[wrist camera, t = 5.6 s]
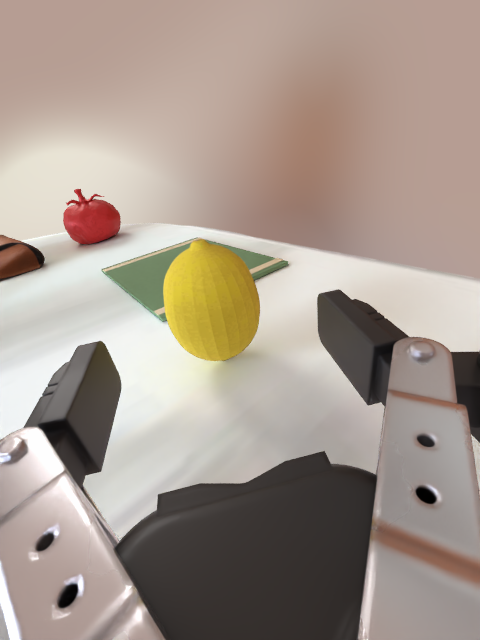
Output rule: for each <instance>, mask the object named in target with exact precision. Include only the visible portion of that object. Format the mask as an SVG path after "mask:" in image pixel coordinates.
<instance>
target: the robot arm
mask: <svg viewBox="0 0 480 640" xmlns="http://www.w3.org/2000/svg"><path fill="white" fill-rule="evenodd" d="M317 305H318V333H319V337H320V340H321V342H322V344H323V346H324V347H325V348H326V350H327V351H328V352H329V354H330V355H331V356H332V358H333V359H334V360H335V362H336V363H337V364H338V366H339V367H340V369H341V370H342V371H343V373H344V374H345V375H346V377H347V378H348V379H349V381H350V382H351V383H352V385H353V386H354V387H355V389H356V390H357V391H358V393H359V394H360V395H361V397H362V398H363V399H364V401H365V402H366V404H367V405H372V404H375V403H379V402H381V403H382V404H383V405H384V406H385V409H384V416H383V424H382V432H381V439H380V447H379V455H378V462H377V469H376V475H375V474H373V473H371V472H368V471H366V470H363V469H360V468H356V467H352V466H348V465H340V464H330V461H329V459H328V457H327V455H326V453H325V451H323V452H319V453H315V454H311V455H308V456H304V457H300V458H296V459H292V460H289V461H285V462H283V463H281V464H279V465H278V466H276V467H274V468H272V469H270V470H269V471H267V472H265V473H263V474H261V475H260V476H258V477H256V478H254V479H253V480H251V481H249V482H246V483H241V484H197V485H193V486H189V487H185V488H181V489H178V490H174V491H170V492H166V493H162V494H158V503H157V511H155V512H153V513H151V514H150V515H148V516H147V517H146V518H144V519H143V520H141V521H140V522H139V523H138V524H137V525H135V526H134V527H133V528H132V529H131V530H130V531H129V532H128V533H127V534H126V535H125V536H124V537H123V538H122V539H121V540H120V541H119V540H118V538H117V537H116V535H115V534H114V532H113V531H112V529H111V528H110V526H109V525H108V523H107V522H106V520H105V519H104V517H103V515H102V514H101V512H100V511H99V509H98V508H97V506H96V505H95V503H94V501H93V500H92V498H91V497H90V495H89V494H88V492H87V490H86V489H85V488H84V486H83V482H84V479H85V475H89V474H93V473H97V472H101V470H102V466H103V462H104V458H105V453H106V449H107V445H108V441H109V437H110V433H111V429H112V425H113V421H114V417H115V413H116V409H117V405H118V401H119V397H120V393H121V380H120V376H119V373H118V371H117V369H116V367H115V365H114V363H113V361H112V358H111V356H110V354H109V352H108V350H107V348H106V346H105V344H104V343H103V342H102V341H99V342H94V343H89V344H85V345H80V346H78V347H77V348H76V350H75V352H74V354H73V356H72V358H71V360H70V362H67V363H65V364H64V365H63V366H62V367H61V368H60V369H59V370H58V371H56V372H55V373H54V375H53V377H52V378H51V380H50V382H49V384H48V387H46V389H45V391H44V392H43V394H42V395H43V397H41V398H40V399H39V401H38V403H37V405H36V406H35V408H34V410H33V412H32V414H31V415H30V417H29V419H28V421H27V422H26V424H25V426H24V428H23V429H20V430H17V431H15V432H13V433H11V434H9V435H7V436H6V437H4V438H3V439H1V440H0V599H1V603H2V607H3V611H4V615H5V619H6V623H7V627H8V631H9V635H10V639H11V640H480V495H479V488H478V481H477V474H476V467H475V460H474V453H473V446H472V440H471V434H472V435H473V436H474V437H475V438H476V439H477V440H478V442H479V443H480V351H479V352H450V351H449V350H448V349H447V348H446V347H445V346H444V345H442V344H441V343H439V342H436V341H434V340H431V339H427V338H421V337H409V336H407V335H406V334H405V333H404V332H402V331H401V330H400V329H399V328H398V327H396V326H395V325H394V324H393V323H391V322H390V321H389V320H388V319H385V318H384V316H383V315H381V314H380V313H377V311H376V310H375V309H374V308H373V307H371V306H370V305H369V304H367V303H364V302H362V301H359V300H357V299H354V300H351V299H350V298H349V297H348V296H347V295H346V294H344V293H343V292H342V291H341V290H334V291H330V292H325V293H321V294H319V295H318V299H317Z"/></svg>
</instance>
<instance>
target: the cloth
mask: <svg viewBox="0 0 480 640" xmlns="http://www.w3.org/2000/svg"><path fill="white" fill-rule="evenodd" d="M198 239H202V238H194V239H191V240H188V241H185V242H182V243H179V244H176V245H173V246H170V247H167V248H164V249H161V250H158V251H155V252H152V253H149V254H146V255H143V256H140V257H137V258H134V259H131V260H128V261H125V262H122V263H119V264H116V265H113V266H110V267H107V268H104V269H102V272H103V273H104V274H106V275H107V276H108V277H109V278H110V279H112V280H113V281H114V282H115V283H116V284H118V285H119V286H120V287H121V288H123V289H124V290H125V291H126V292H127V293H129V294H130V295H131V296H132V297H133V298H135V299H136V300H137V301H138V302H139V303H141V304H142V305H143V306H144V307H145V308H147V309H148V310H149V311H150V312H152V313H153V314H154V315H155V316H156V317H158V318H159V319H160V320H161V321H162V322H164V321H166V320H167V318H166V314H165V308H164V296H163V286H164V279H165V276H166V273H167V271H168V269H169V267H170V265H171V264H172V262H173V261H174V260H175V258H176V257H177V256H178V255H179V254H181V253H182V252H183V251H185V250H186V249H188V248H189V247H190V245H191V243H192V242H193V241H195V240H198ZM205 241H207V242H208V243H209V244H215V245H219V246H222V247H225V248H227V249H229V250H231V251H232V252H234V253H235V254H236V255H238V256H239V257H240V258H241V259H242V260H243V261H244V262H245V264H246V266H247V267H248V269H249V271H250V273H251V275H252V278H253V280H256V279H258V278H260V277H262V276H264V275H267V274H269V273H271V272H273V271H275V270H278V269H280V268H282V267H284V266H286V265H288V261H284V260H283V259H279V258H273V257H269V256H265V255H262V254H258V253H254V252H250V251H246V250H242V249H239V248H235V247H231V246H227V245H223V244H220V243H216V242H212V241H208V240H205Z"/></svg>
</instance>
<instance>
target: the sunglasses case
mask: <svg viewBox="0 0 480 640" xmlns="http://www.w3.org/2000/svg"><path fill="white" fill-rule="evenodd" d="M44 260H45V258H44V256H43V254H42V253H41V252H40V251H39V250H38V249H37V248H35V247H33V246H31V245H29V244H26V243H24V242H21V241H18V240H15V239H12V238H8V237H6V236H4V235H0V279H4V278H9V277H14V276H17V275H20V274H23V273H26V272H29V271H33V270H35V269H38V268H40V267H41V266H42V265H43V264H44Z"/></svg>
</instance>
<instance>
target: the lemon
mask: <svg viewBox="0 0 480 640" xmlns="http://www.w3.org/2000/svg"><path fill="white" fill-rule="evenodd" d="M163 296H164V308H165V314H166V318H167V321H168V324H169V327H170V329H171V331H172V333H173V335H174V336H175V338H176V339H177V341H178V342H179V343H180V345H181V346H182V347H183V348H184V349H185V350H186V351H188V352H189V353H191V354H192V355H194V356H196V357H198V358H201V359H205V360H209V361H219V360H222V361H225V360H227V359H229V358H231V357H234V356H236V355H238V354H239V353H241V352H242V351H243V350H244V349H245V348H246V347H247V346H248V345H249V344H250V343H251V341H252V339H253V338H254V336H255V334H256V331H257V328H258V324H259V315H260V303H259V296H258V292H257V288H256V285H255V282H254V280H253V278H252V275H251V273H250V271H249V269H248V267H247V266H246V264H245V262H244V261H243V260H242V259H241V258H240V257H239V256H238V255H236V254H235V253H234V252H232V251H231V250H229V249H227V248H225V247H222V246H219V245H215V244H209V243H208V242H207V241H205V240H204V239H198V240H195V241H193V242H192V243H191V245H190V247H189V248H188V249H186V250H185V251H183V252H182V253H181V254H179V255H178V256H177V257H176V258H175V260H174V261H173V262H172V264H171V265H170V267H169V269H168V271H167V273H166V276H165V279H164V286H163Z"/></svg>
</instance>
